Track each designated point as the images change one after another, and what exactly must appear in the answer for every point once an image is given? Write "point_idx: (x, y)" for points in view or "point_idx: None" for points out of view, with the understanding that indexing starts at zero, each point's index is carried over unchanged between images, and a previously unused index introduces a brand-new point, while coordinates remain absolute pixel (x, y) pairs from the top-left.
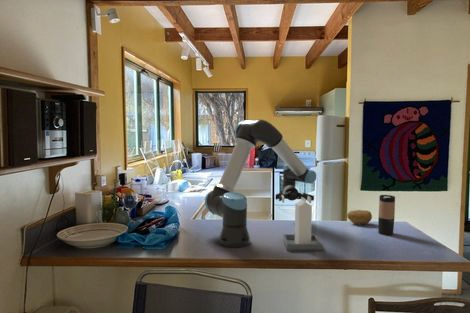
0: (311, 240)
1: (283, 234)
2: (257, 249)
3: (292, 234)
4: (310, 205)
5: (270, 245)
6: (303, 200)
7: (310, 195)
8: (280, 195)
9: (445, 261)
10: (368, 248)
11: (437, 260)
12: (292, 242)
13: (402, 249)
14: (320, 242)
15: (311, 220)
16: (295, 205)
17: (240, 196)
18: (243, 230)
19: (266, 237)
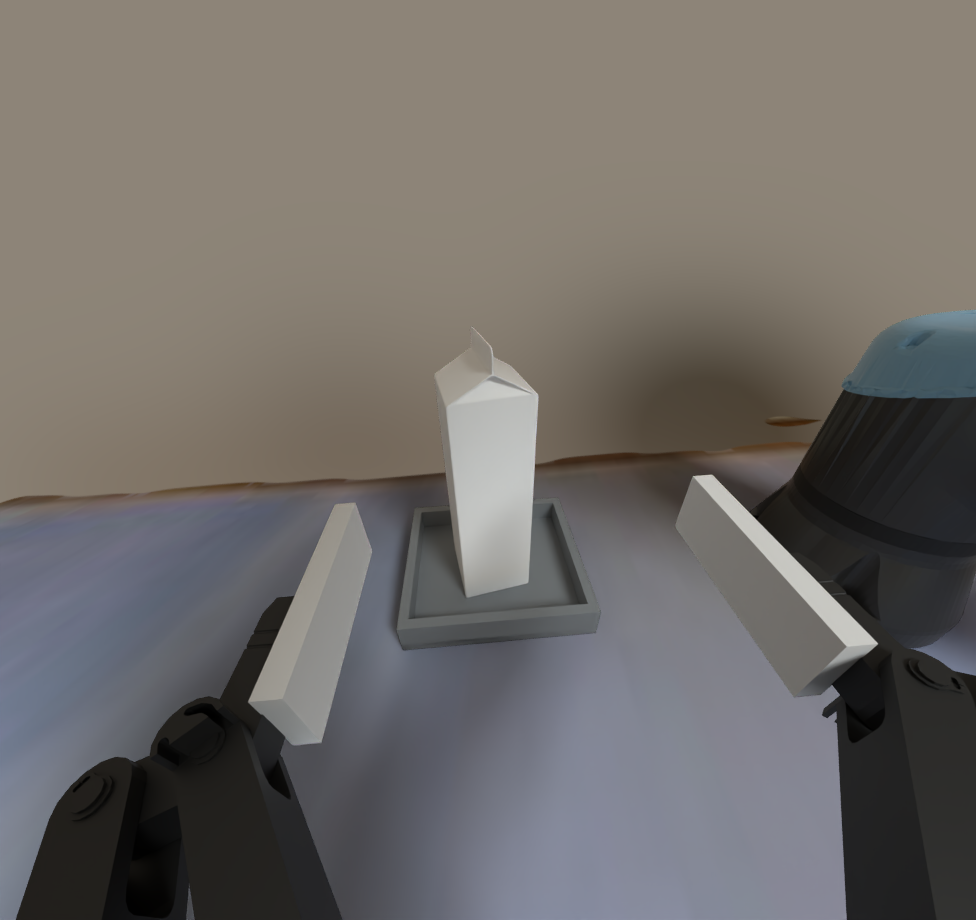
0: (433, 616)
1: (598, 607)
2: (670, 515)
3: (543, 614)
4: (442, 370)
5: (636, 555)
6: (481, 353)
7: (195, 714)
8: (894, 650)
9: (50, 504)
10: (195, 574)
11: (66, 507)
12: (538, 575)
13: (43, 581)
14: (414, 526)
15: (443, 452)
16: (536, 405)
17: (967, 325)
18: (785, 489)
19: (714, 672)
